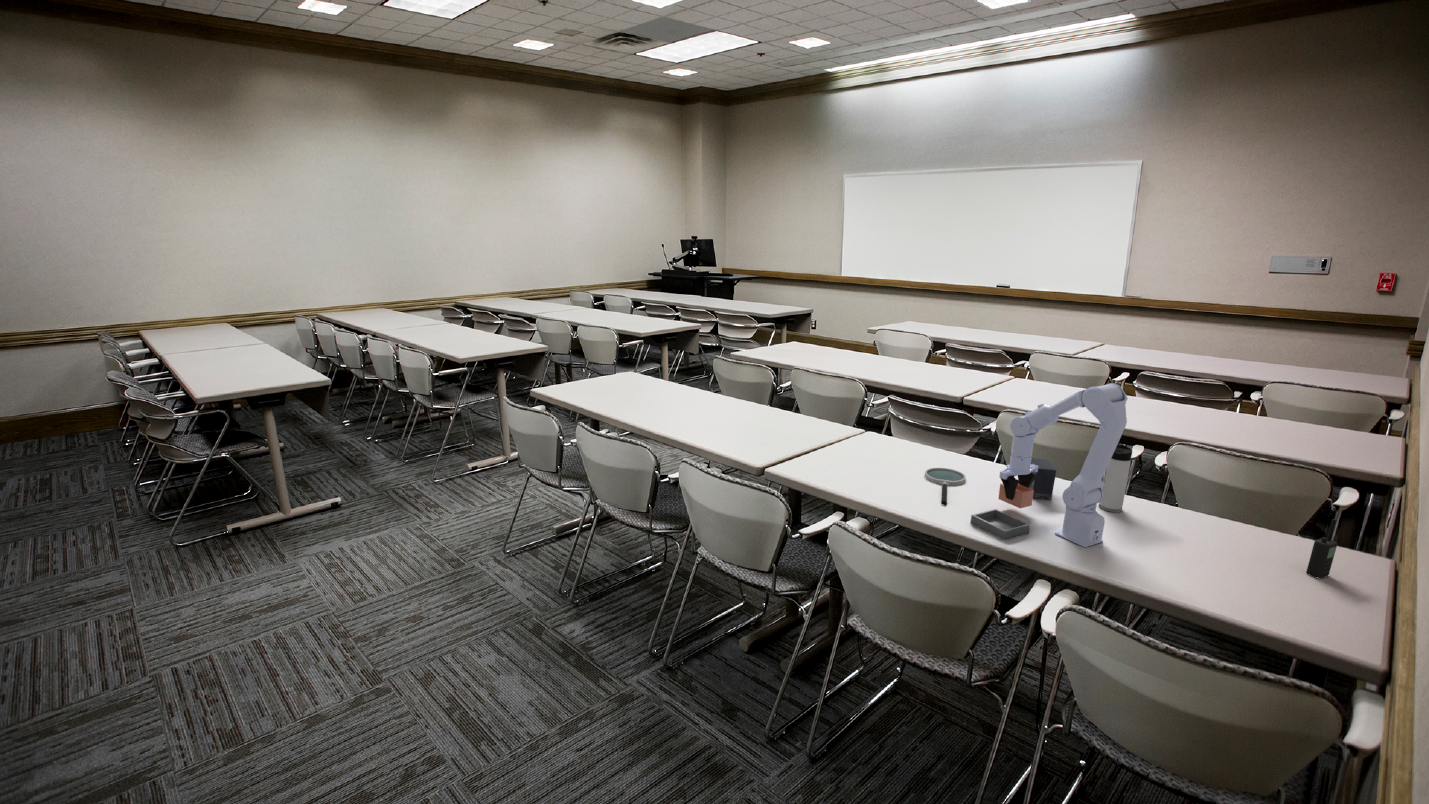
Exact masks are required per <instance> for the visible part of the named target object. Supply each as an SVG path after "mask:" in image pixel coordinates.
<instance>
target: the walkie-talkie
mask: <svg viewBox="0 0 1429 804" xmlns="http://www.w3.org/2000/svg"><path fill="white" fill-rule="evenodd" d="M1336 525H1337V519H1335V518H1333V519H1332V520H1331V523H1330V526H1329V531H1328V534H1327V537H1324V536H1323V537H1321V538H1319V539H1315V540H1314V542H1313V545H1312V548H1311V549H1312V550H1311V554H1310V557H1309V561H1308V564H1307V567H1306V573H1307V574H1306V573H1305V574H1306V575H1308V574H1310V575H1312V576H1311V577H1313V576H1314V577H1313V578H1315V577H1318V578H1321V579H1323V577H1324V578H1326V576H1327V577H1328V575H1329V576H1330V572H1331V568H1332V565H1333V561H1334V559H1335V558H1334V557H1335V554H1336V551H1337V548H1338V542H1337V541H1335V540H1332V539H1333V536H1334V535H1333V534H1334V532H1335V529H1336ZM1310 575H1309V576H1310ZM1318 578H1317V579H1318Z"/></svg>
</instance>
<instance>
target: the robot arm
mask: <svg viewBox="0 0 1429 804" xmlns="http://www.w3.org/2000/svg"><path fill="white" fill-rule="evenodd" d="M1127 401H1128V395H1127V394H1126V393H1125V390H1124V389H1123V388H1122V386H1120V385H1119V384H1117V383H1113V382H1111V383H1107V384H1104V385H1103V384H1102V385H1099V386H1090V387H1088V388H1086V389H1082V390H1079V391H1077V392H1075V393H1073V394H1071V395H1070V396H1068V397H1066V398H1064V399H1063V400H1060V401H1058V402H1057V403H1055V404H1052V405H1051V404H1048V403H1045V404H1044V403H1042V404H1041V403H1040V404H1038V405H1037V408H1035V409H1034V410H1032V411H1030V410H1028V411H1027V412H1024V415H1023V416H1015V417H1014V418H1013V419H1012V420H1011V422H1010V426H1009V428H1010V431H1011V433H1012V434H1013V435H1012V443H1011V448H1010V449H1011V451H1010V457H1009V458H1010V459H1009V464H1007V465H1006V468H1004V469H1003V470H1000V471H999V478H1000V480H1001V482H1002V483H1003V485H1004V489H1005V495H1006V498H1008V499H1010V500H1013V498H1014V495H1015V490H1016V487H1017V485H1018V484H1020V485H1022V486H1025V487H1027V488H1029V487H1030V485H1031V484H1032V482H1033V481H1034V480H1035V479H1036V476H1037V475H1035V474H1033V472H1038V466H1037V465H1034V464H1031V458H1033V450H1034V442H1035V439H1036V435H1037V434H1038V433H1039V432H1040V430H1043V429H1044V428H1047V427H1048V426H1051V425H1053V424H1055V423H1057V422H1058V421H1059V418H1060V416H1061V415H1064V414H1066V413H1068V412H1071V411H1072V410H1075V409H1077V408H1086V410H1088V411H1089V413H1091V415H1093V417H1095V418H1096V419H1097V420H1098V422H1099V423H1100V426H1099V428H1098V431H1097V433H1096V435H1095V437H1094V440H1093V442H1092V444H1091V447H1090V449H1089V451H1088V454H1087V455H1086V456H1087V457H1086V459H1085V460H1084V463H1083V464H1082V465H1083V466H1082V468H1081V470H1080V472H1079V474H1078V475H1077V476H1076V477H1075V478H1074V479H1073V480H1072V481H1071V483H1070V484H1069V486H1068V487H1067V488H1065V489H1064V490H1063V492H1062V501H1063V503H1064V505H1065V510H1064V511H1065V512H1064V517H1063V523H1062V528H1061V529H1060V530H1056V531H1055V532H1054V534H1055V535H1057V536H1060V537H1061V538H1063V539H1066V540H1067V541H1070V542H1072V543H1075V544H1077V545H1079V546H1081V547H1084V548H1087V547H1090V546H1093V545H1096V544H1100V543H1103V541H1104V540H1103V533H1104V529H1105V521H1106V520H1105V517H1104V516H1103V515H1102V514H1100V513H1099V512H1098V511H1096V510H1097V509H1096V508H1097V504H1099V502H1100V501H1101V500H1102V498H1103V487H1104V485H1105V484H1104V483H1103V478H1104V473H1105V471H1106V469H1107V466H1108V464H1109V462H1110V460H1111V458H1112V455H1113V453H1114V451H1115V449H1116V446H1117V445H1119V442H1120V439H1121V438H1122V435H1123V434H1124V433H1123V432H1124V431H1125V429H1126V426H1127V422H1128V421H1127V410H1126V409H1127V408H1126V405H1127ZM1016 476H1017V479H1016Z"/></svg>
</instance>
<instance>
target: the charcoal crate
mask: <svg viewBox="0 0 1429 804" xmlns="http://www.w3.org/2000/svg"><path fill="white" fill-rule="evenodd" d="M970 524H971V525H972V524H973V525H972V526H974V527H976V528H978V527H979V528H978V529H981V530H982V531H985V532H986V533H988V534H990V535H993V536H994V537H996V538H997V539H1000V540H1001V541H1002V540H1003V541H1006V540H1012V539H1014V538H1018V537H1021V536H1024V535H1028V534H1029V533H1030V529H1031V524H1030V523H1028V522H1025V521H1023V520H1022V519H1019V518H1016V517H1015V516H1012V515H1010V514H1008V513H1006V512H1003V511H1002V510H999V509H997V508H993V509H989V510H985V511H982V512H978V513H974V514H971V517H970Z"/></svg>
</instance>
